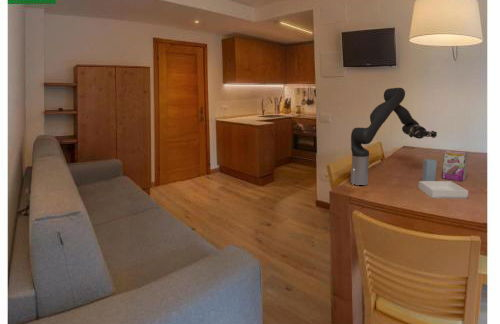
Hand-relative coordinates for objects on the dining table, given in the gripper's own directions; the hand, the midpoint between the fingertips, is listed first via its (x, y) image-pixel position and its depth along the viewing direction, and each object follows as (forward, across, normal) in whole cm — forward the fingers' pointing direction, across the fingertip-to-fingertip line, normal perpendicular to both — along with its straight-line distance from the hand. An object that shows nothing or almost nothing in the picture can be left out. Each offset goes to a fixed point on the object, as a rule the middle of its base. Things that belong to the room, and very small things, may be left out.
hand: (426, 136), depth 181 cm
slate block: (+11, 0, +26) cm, 28 cm away
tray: (+28, 0, +25) cm, 37 cm away
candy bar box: (-1, +17, +27) cm, 32 cm away
